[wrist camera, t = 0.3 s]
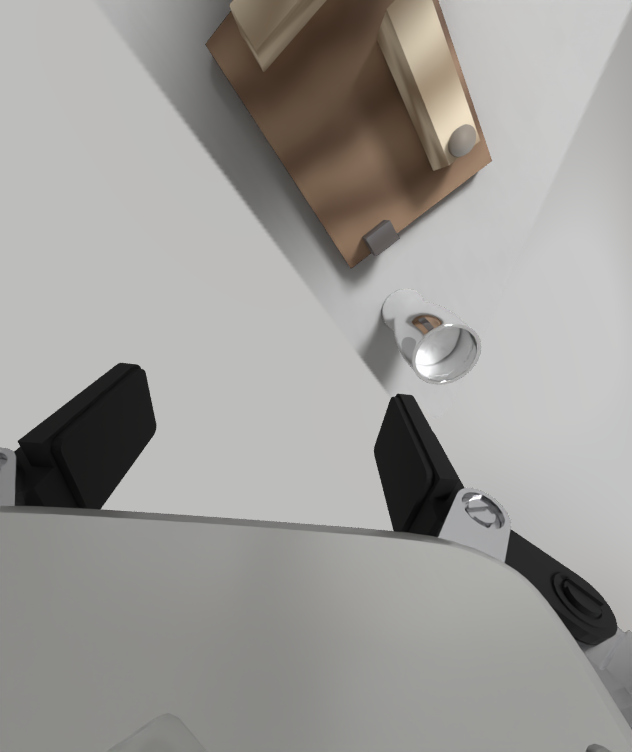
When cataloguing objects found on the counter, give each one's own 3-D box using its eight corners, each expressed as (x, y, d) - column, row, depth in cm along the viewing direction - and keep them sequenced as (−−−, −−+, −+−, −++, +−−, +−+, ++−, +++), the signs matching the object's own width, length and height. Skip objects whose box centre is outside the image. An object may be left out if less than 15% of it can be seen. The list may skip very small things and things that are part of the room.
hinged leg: (460, 150, 29) (484, 140, 25) (433, 171, 29) (452, 165, 26) (406, 6, 24) (425, -36, 20) (376, 37, 24) (388, 3, 21)
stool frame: (212, 55, 27) (184, 12, 21) (372, -149, 21) (394, -282, 15) (349, 265, 36) (355, 275, 31) (482, 163, 31) (519, 152, 25)
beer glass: (370, 324, 41) (397, 376, 28) (392, 277, 37) (433, 311, 24) (412, 338, 42) (457, 393, 29) (436, 294, 38) (499, 335, 26)
